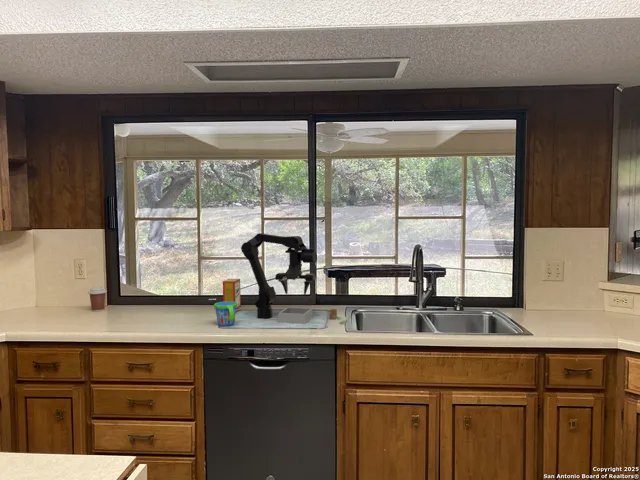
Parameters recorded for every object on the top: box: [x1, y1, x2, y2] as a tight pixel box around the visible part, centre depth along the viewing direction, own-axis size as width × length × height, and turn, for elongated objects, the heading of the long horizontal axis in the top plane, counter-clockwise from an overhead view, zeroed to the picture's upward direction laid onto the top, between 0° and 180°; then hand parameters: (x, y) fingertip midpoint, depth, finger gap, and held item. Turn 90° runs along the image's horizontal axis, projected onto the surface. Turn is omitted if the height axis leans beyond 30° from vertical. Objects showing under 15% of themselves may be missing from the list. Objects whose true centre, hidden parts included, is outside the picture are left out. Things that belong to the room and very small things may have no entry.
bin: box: [278, 307, 313, 325], centre depth 226 cm, size 13×13×5 cm
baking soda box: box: [222, 278, 242, 310], centre depth 256 cm, size 10×6×16 cm
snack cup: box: [213, 301, 237, 327], centre depth 220 cm, size 16×10×10 cm
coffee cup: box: [87, 286, 108, 312], centre depth 253 cm, size 9×9×12 cm
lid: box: [328, 308, 351, 325], centre depth 228 cm, size 14×14×6 cm
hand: (295, 294), depth 225 cm, fingers open, 9 cm apart
